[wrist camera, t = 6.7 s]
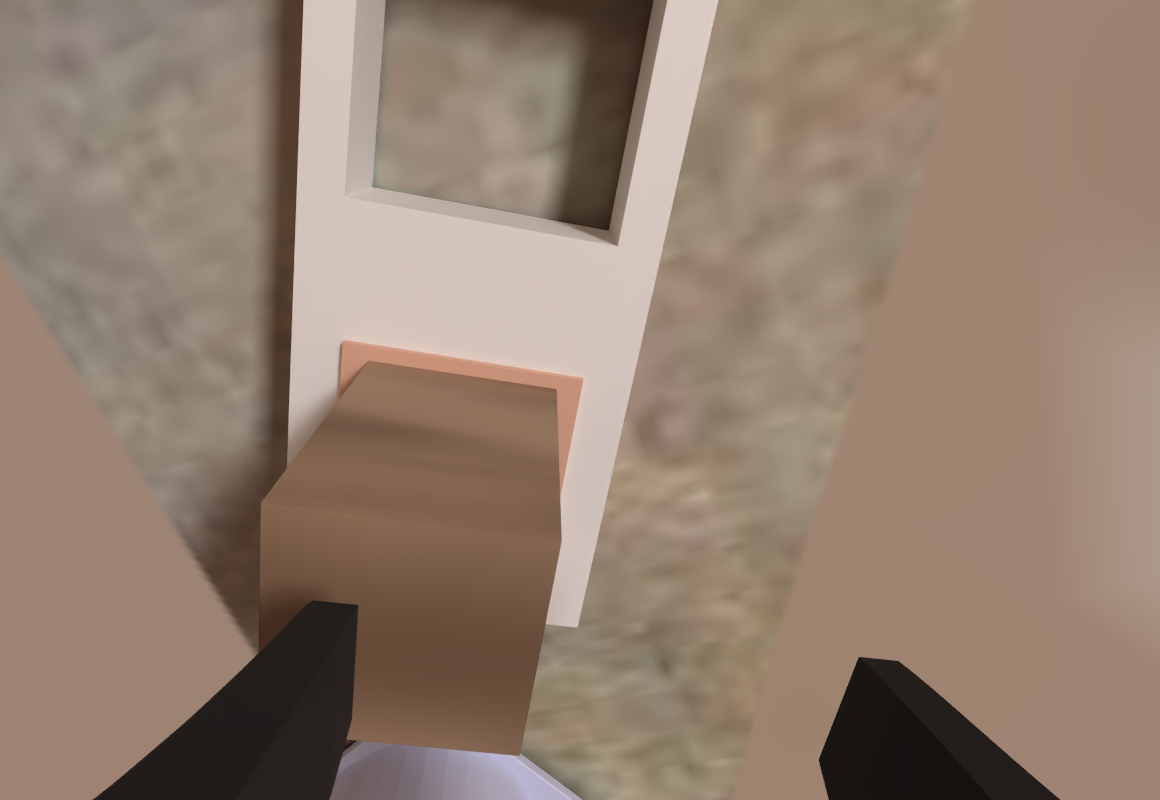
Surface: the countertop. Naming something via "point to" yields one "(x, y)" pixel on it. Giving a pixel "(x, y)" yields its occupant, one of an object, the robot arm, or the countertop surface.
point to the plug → (425, 550)
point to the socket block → (482, 263)
